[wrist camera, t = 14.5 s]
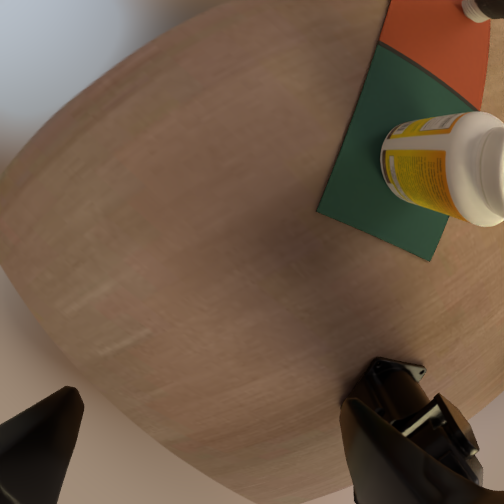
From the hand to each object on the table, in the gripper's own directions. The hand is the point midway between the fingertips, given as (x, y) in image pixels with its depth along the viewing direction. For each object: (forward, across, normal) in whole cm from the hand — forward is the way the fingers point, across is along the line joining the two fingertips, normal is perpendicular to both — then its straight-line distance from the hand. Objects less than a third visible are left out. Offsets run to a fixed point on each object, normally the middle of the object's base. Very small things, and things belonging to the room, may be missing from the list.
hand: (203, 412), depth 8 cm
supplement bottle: (+12, -13, -8) cm, 19 cm away
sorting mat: (+12, -15, -15) cm, 24 cm away
